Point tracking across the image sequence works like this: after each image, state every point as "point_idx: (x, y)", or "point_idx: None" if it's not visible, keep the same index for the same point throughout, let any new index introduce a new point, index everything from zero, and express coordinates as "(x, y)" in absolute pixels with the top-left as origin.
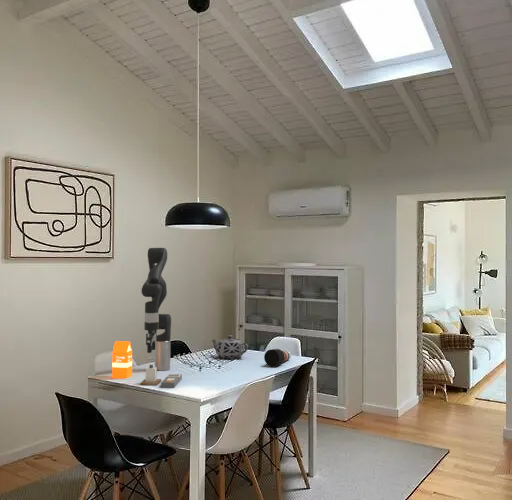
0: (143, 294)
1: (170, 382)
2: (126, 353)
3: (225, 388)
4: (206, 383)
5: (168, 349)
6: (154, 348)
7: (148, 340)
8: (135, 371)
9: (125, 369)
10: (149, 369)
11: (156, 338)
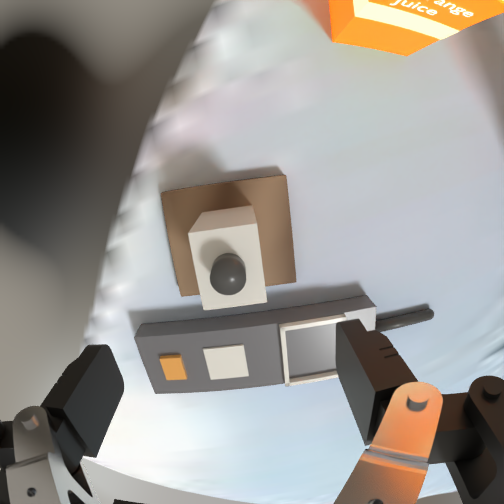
0: None
1: (159, 377)
2: None
3: (214, 492)
4: (277, 451)
5: None
6: (341, 375)
7: (31, 492)
8: (488, 63)
9: (349, 12)
10: (196, 262)
11: (479, 468)
